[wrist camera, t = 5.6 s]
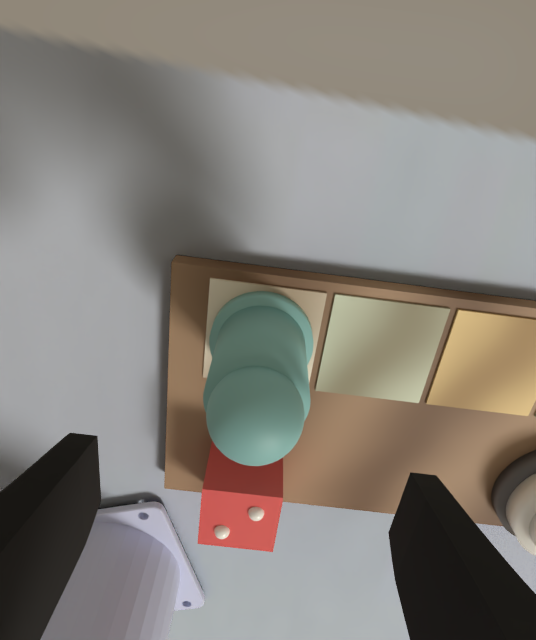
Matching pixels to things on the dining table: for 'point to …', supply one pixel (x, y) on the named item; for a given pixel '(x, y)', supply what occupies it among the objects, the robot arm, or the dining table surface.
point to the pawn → (258, 377)
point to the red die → (240, 503)
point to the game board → (373, 387)
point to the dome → (524, 513)
